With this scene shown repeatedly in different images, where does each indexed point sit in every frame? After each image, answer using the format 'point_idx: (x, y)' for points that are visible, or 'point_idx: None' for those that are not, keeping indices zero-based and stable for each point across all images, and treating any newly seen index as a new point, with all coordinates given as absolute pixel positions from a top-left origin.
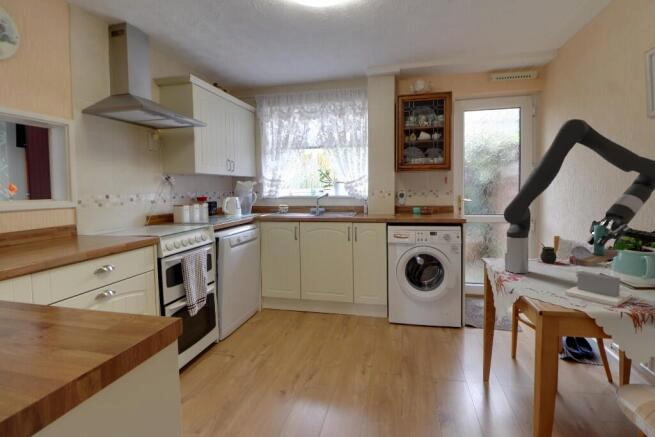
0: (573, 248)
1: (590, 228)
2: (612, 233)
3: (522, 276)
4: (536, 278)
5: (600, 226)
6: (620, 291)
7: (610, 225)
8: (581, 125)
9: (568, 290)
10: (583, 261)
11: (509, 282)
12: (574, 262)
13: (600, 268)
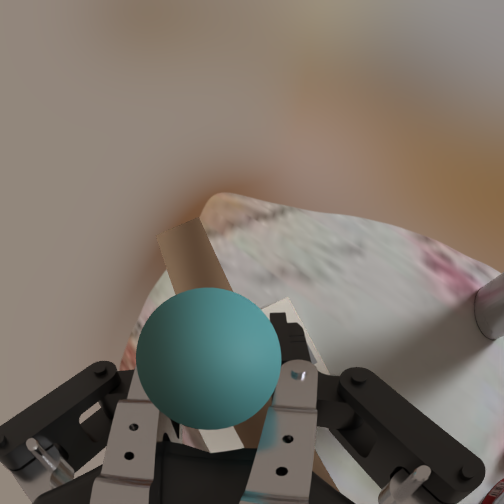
0: None
1: (399, 397)
2: (92, 375)
3: (456, 299)
4: (439, 325)
5: (151, 314)
6: (237, 444)
7: (120, 454)
8: None
9: (290, 310)
10: (182, 226)
11: (410, 236)
12: (501, 484)
13: None
